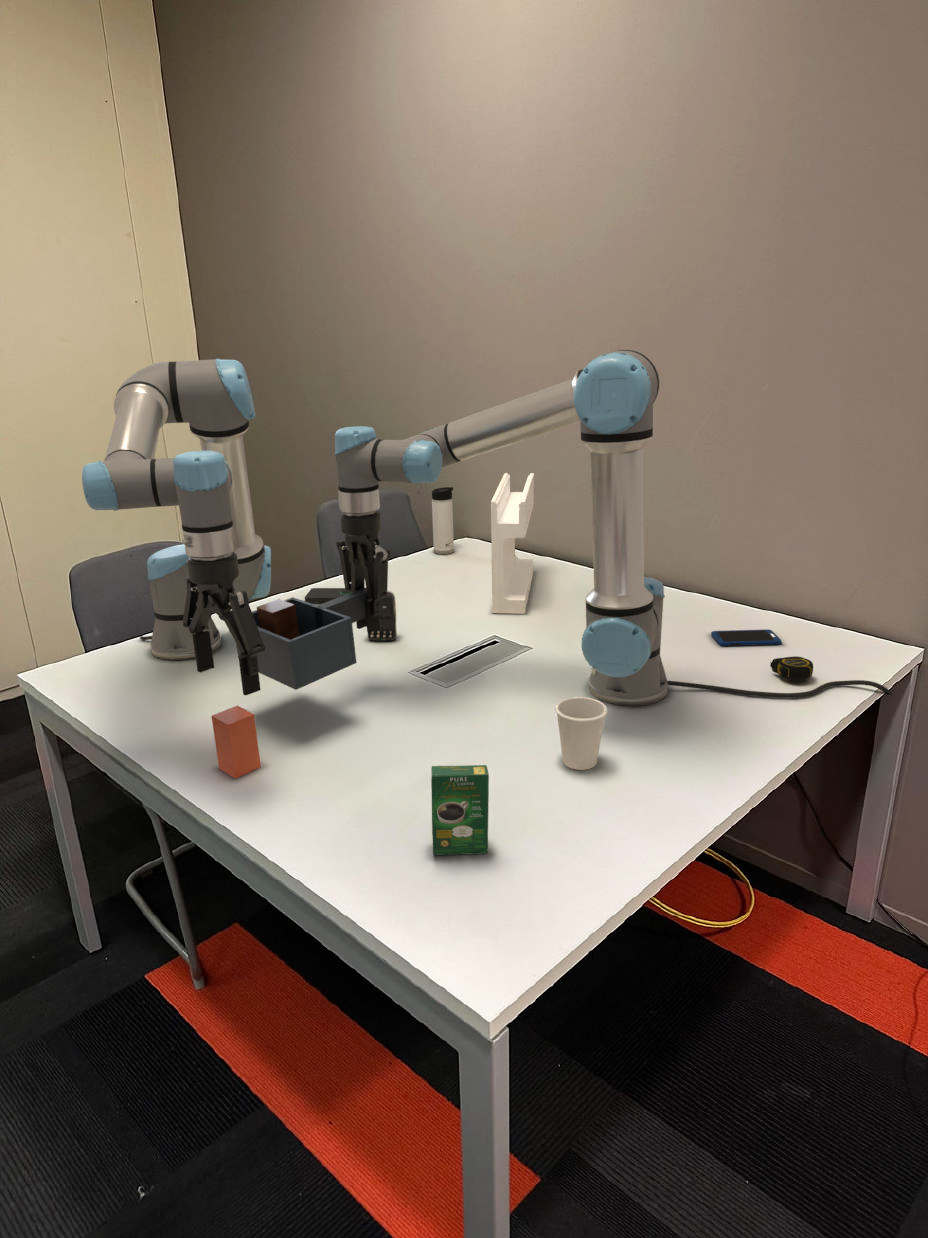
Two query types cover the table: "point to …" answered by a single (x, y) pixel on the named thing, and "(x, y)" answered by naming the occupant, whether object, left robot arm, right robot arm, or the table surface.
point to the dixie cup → (580, 731)
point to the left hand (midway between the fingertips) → (228, 680)
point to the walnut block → (279, 618)
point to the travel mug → (442, 520)
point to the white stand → (510, 546)
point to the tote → (313, 641)
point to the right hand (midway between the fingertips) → (368, 628)
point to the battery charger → (386, 620)
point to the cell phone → (746, 637)
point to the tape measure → (793, 668)
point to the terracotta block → (236, 741)
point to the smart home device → (324, 594)
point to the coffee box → (460, 809)
